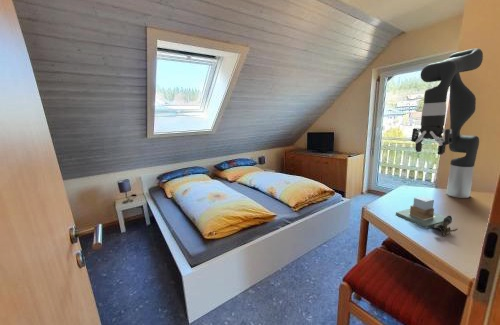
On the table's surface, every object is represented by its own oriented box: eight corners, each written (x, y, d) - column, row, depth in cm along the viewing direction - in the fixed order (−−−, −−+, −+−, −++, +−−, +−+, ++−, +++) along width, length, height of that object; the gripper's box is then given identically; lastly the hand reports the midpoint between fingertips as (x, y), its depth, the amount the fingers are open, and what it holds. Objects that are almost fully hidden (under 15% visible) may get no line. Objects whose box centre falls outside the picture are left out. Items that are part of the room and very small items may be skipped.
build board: (417, 209, 107) (417, 206, 106) (450, 221, 93) (450, 218, 93) (395, 214, 103) (396, 212, 102) (427, 228, 90) (427, 225, 89)
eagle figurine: (464, 237, 80) (456, 222, 87) (453, 222, 80) (446, 208, 87) (440, 242, 85) (434, 227, 92) (429, 228, 84) (425, 214, 91)
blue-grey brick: (421, 204, 100) (422, 195, 99) (433, 208, 95) (434, 199, 94) (413, 205, 99) (414, 197, 98) (424, 210, 94) (425, 201, 93)
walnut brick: (419, 211, 101) (420, 203, 100) (433, 216, 96) (434, 208, 95) (409, 213, 100) (410, 205, 99) (423, 219, 94) (424, 211, 93)
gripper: (460, 113, 83) (454, 154, 86) (421, 114, 96) (418, 150, 99) (447, 114, 81) (441, 156, 84) (409, 115, 94) (406, 151, 97)
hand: (429, 153), depth 92 cm, fingers open, 8 cm apart
